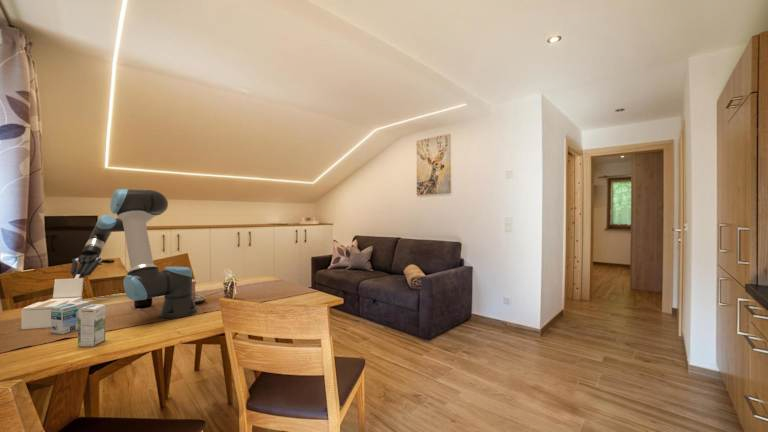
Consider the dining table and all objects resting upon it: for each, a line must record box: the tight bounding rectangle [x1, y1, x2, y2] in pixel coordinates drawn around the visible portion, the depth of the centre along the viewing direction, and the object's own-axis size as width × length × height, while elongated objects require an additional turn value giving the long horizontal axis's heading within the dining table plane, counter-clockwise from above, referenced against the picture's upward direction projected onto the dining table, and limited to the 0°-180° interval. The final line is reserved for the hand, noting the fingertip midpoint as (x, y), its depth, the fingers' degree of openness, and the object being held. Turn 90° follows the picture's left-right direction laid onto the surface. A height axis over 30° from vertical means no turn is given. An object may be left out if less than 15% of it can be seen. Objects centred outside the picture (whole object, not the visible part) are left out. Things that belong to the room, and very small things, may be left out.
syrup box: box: [77, 303, 107, 347], centre depth 125 cm, size 6×6×14 cm
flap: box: [52, 277, 85, 299], centre depth 157 cm, size 9×11×1 cm
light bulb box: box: [50, 300, 91, 335], centre depth 138 cm, size 11×7×11 cm, turn 168°
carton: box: [20, 296, 83, 330], centre depth 147 cm, size 18×12×9 cm, turn 16°
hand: (73, 286), depth 161 cm, fingers closed
